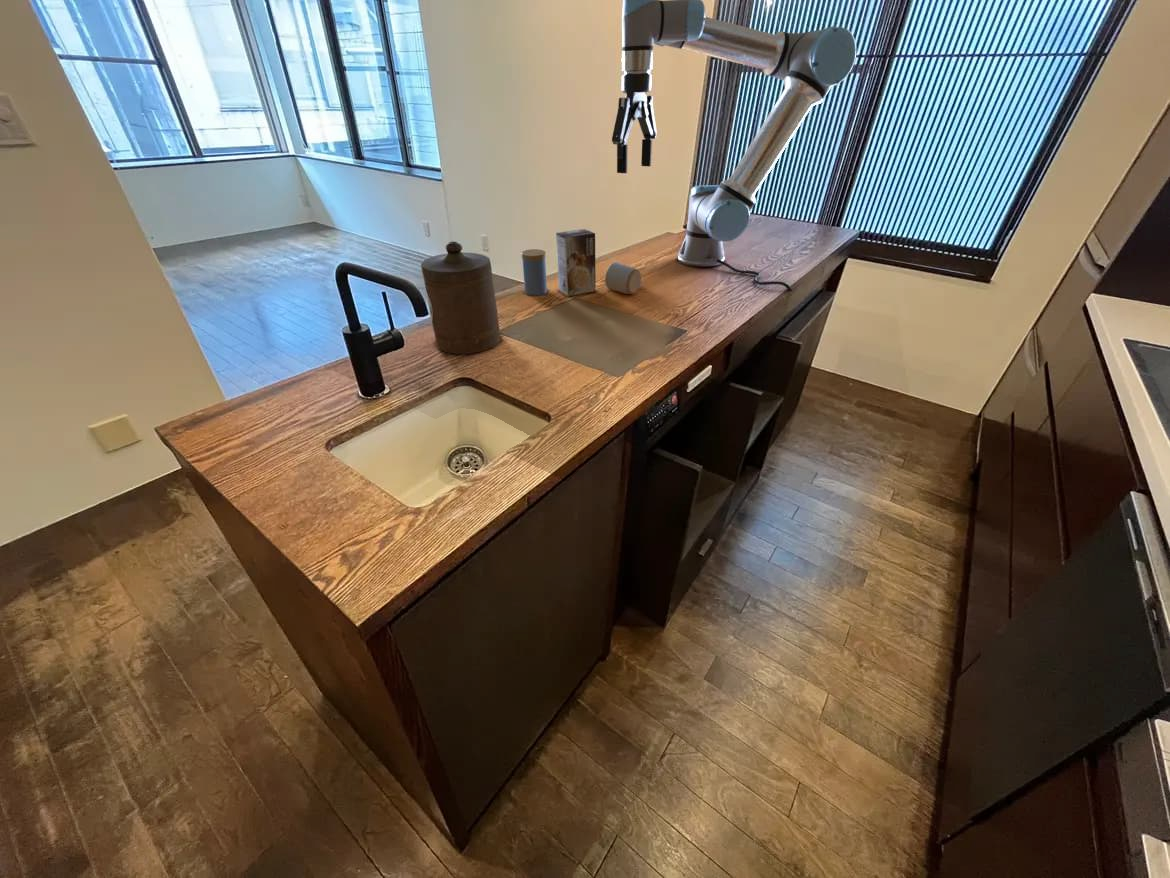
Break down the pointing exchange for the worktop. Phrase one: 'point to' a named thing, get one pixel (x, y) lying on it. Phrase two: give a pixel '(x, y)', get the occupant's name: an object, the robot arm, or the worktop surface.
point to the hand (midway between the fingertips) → (634, 169)
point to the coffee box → (576, 261)
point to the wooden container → (461, 300)
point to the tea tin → (534, 271)
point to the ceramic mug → (623, 278)
